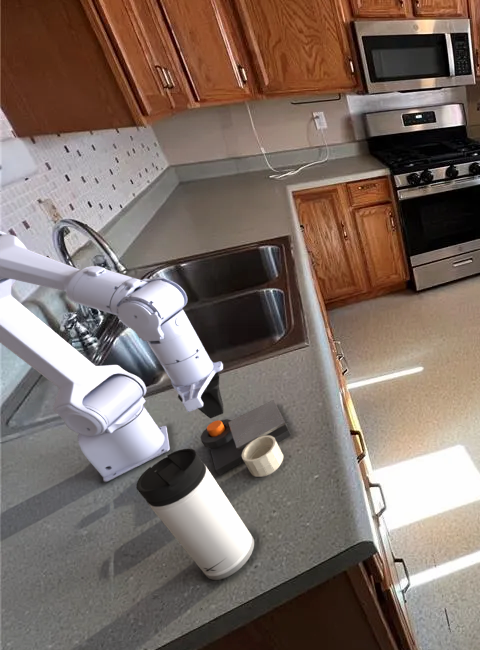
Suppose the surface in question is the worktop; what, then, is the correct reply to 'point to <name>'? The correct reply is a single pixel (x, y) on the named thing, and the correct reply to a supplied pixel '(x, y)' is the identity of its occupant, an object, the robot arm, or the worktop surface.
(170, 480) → the travel mug
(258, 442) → the cream hollow cylinder
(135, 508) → the worktop surface
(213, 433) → the tare button
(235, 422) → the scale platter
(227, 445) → the scale
